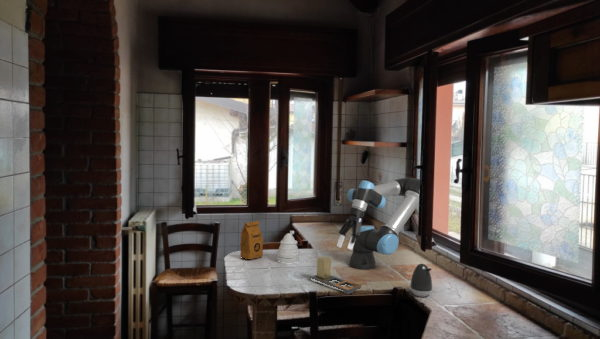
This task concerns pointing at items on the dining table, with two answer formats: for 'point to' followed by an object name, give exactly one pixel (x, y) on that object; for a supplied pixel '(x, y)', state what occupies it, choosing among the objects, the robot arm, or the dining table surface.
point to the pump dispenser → (421, 281)
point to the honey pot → (288, 249)
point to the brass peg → (323, 268)
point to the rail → (339, 284)
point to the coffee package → (251, 241)
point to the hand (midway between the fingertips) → (343, 248)
